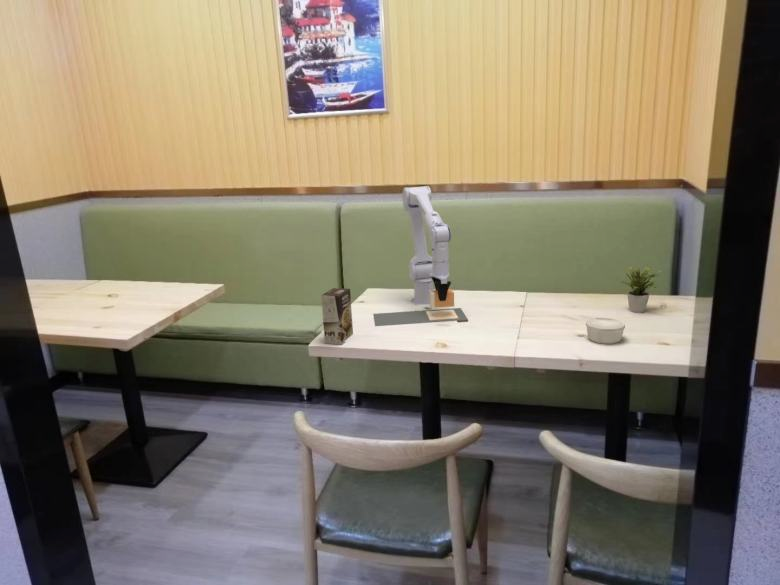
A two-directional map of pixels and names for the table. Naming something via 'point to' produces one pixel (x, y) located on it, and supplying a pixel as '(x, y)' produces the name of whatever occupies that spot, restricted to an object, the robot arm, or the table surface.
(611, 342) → the ramekin
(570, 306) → the table surface
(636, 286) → the house plant
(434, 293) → the card box
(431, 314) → the pad
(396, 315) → the mat
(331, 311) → the coffee box
